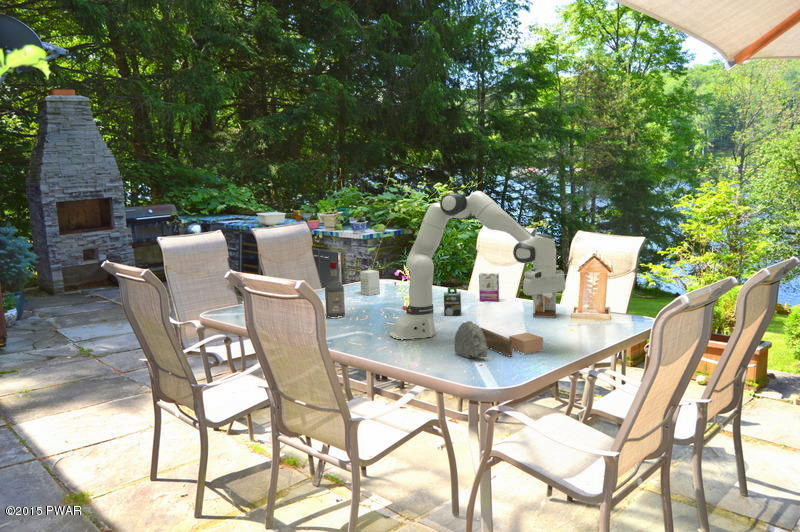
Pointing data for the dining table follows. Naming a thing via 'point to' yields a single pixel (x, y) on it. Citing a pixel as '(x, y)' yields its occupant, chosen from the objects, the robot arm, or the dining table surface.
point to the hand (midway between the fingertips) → (544, 303)
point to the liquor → (334, 294)
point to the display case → (545, 304)
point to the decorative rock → (470, 341)
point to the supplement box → (370, 282)
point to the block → (526, 342)
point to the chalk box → (452, 303)
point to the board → (498, 342)
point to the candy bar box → (489, 286)
